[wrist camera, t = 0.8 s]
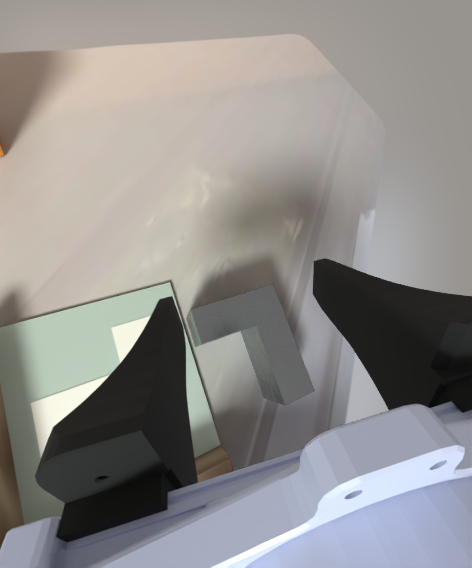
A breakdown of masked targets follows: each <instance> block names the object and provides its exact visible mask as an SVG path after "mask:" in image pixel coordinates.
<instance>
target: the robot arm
mask: <svg viewBox="0 0 472 568" xmlns="http://www.w3.org/2000/svg"><path fill="white" fill-rule="evenodd" d="M313 295H314V296H315V298H316V300H317V302H318V303H319V305H320V307H321V308H322V310H323V311H324V312H325V314H326V315H327V316H328V318H329V319H330V320H331V321H332V323H333V324H334V325H335V326H336V327H337V329H338V330H339V331H340V332H341V334H342V335H343V336H344V337H345V339H346V340H347V341H348V342H349V344H350V345H351V347H352V348H353V349H354V351H355V353H356V354H357V356H358V357H359V359H360V360H361V362H362V364H363V365H364V367H365V368H366V370H367V372H368V373H369V375H370V377H371V378H372V380H373V382H374V384H375V385H376V387H377V389H378V391H379V393H380V394H381V396H382V398H383V400H384V401H385V403H386V405H387V407H388V409H389V411H386V412H383V413H380V414H377V415H374V416H370V417H367V418H364V419H361V420H357V421H355V422H351V423H348V424H345V425H342V426H338V427H335V428H332V429H330V430H328V431H326V432H323V433H321V434H319V435H317V436H316V437H314V438H313V439H312V440H311V441H309V442H308V443H307V444H306V445H305V447H304V449H301V450H298V451H295V452H292V453H289V454H286V455H283V456H280V457H276V458H273V459H270V460H267V461H264V462H261V463H258V464H255V465H252V466H248V467H245V468H242V469H239V470H236V471H233V472H230V473H227V474H224V475H220V476H217V477H214V478H211V479H208V480H205V481H202V482H199V483H198V478H197V471H196V464H195V457H194V450H193V443H192V435H191V427H190V419H189V411H188V402H187V390H186V342H185V335H184V328H183V325H182V322H181V319H180V316H179V313H178V311H177V308H176V305H175V302H174V299H173V297H172V296H170V297H166V298H162V299H159V301H158V303H157V305H156V307H155V309H154V311H153V313H152V315H151V317H150V319H149V320H148V322H147V324H146V326H145V328H144V329H143V331H142V333H141V334H140V336H139V338H138V339H137V341H136V342H135V344H134V345H133V347H132V348H131V350H130V351H129V353H128V354H127V355H126V357H125V358H124V359H123V360H122V362H121V363H120V364H119V365H118V366H117V367H116V369H115V370H114V371H113V372H112V373H111V374H110V375H109V376H108V378H107V379H106V380H105V381H104V382H103V383H102V384H101V385H100V386H99V387H98V388H97V389H96V390H95V391H94V392H93V393H92V394H91V395H90V396H89V397H88V398H86V399H85V400H84V401H83V402H82V403H81V404H80V405H79V406H78V407H76V408H75V409H74V410H73V411H72V412H70V413H69V414H68V415H67V416H66V417H64V418H63V419H62V420H61V421H60V422H58V423H57V424H56V425H55V426H53V429H52V431H51V433H50V436H49V438H48V440H47V443H46V446H45V449H44V452H43V454H42V457H41V460H40V463H39V466H38V468H37V471H36V474H35V479H36V482H37V484H38V485H39V486H40V487H41V488H42V489H43V490H45V491H46V492H48V493H50V494H51V495H53V496H54V497H56V498H57V499H59V500H61V501H62V502H64V503H65V505H64V509H63V513H62V516H61V517H48V518H44V519H41V520H38V521H35V522H32V523H28V524H25V525H22V526H19V527H16V528H13V529H11V530H9V531H8V532H7V534H6V536H5V539H4V541H3V544H2V547H1V549H0V568H472V296H463V295H455V294H447V293H440V292H434V291H429V290H423V289H418V288H413V287H409V286H405V285H401V284H397V283H393V282H390V281H386V280H383V279H380V278H377V277H374V276H371V275H368V274H366V273H363V272H360V271H358V270H355V269H353V268H350V267H347V266H345V265H342V264H340V263H337V262H335V261H332V260H329V259H321V260H317V261H314V275H313Z"/></svg>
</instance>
